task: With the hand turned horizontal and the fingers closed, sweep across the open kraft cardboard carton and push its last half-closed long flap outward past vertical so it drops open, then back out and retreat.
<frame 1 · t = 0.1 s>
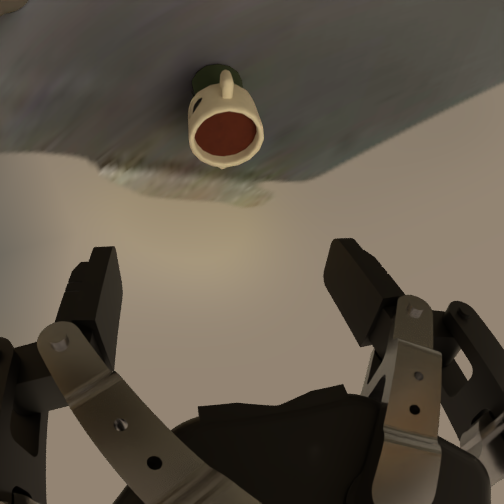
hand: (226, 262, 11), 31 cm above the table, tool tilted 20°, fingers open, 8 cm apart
trophy cup: (216, 83, 36), on the table
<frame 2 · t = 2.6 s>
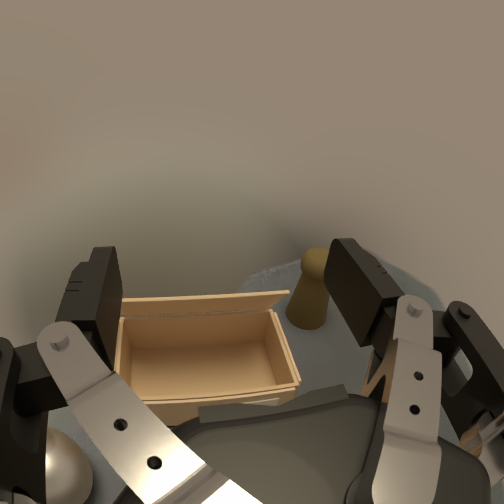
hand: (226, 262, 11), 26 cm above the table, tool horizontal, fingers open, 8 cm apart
flap: (198, 305, 32), point 10 cm above the table, hinge at 35.0°
cork: (305, 315, 46), on the table
carton: (202, 381, 35), on the table
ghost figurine: (64, 479, 21), on the table
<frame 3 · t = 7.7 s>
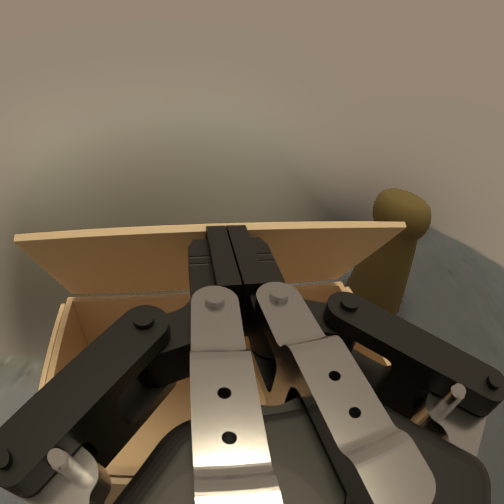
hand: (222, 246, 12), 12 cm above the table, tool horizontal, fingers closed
flap: (213, 263, 15), point 10 cm above the table, hinge at 34.5°, touching gripper
cork: (371, 299, 30), on the table
carton: (219, 417, 18), on the table
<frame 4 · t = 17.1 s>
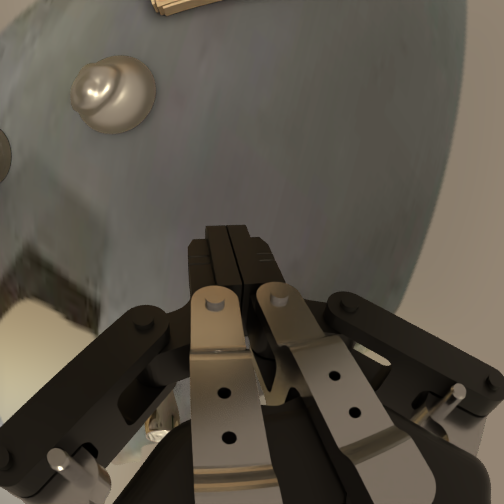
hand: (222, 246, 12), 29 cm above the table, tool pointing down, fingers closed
beer glass: (159, 373, 61), on the table
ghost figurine: (120, 89, 32), on the table
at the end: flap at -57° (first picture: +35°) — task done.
